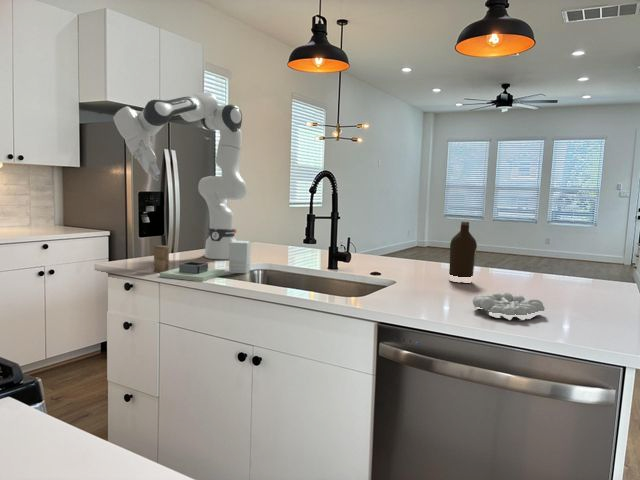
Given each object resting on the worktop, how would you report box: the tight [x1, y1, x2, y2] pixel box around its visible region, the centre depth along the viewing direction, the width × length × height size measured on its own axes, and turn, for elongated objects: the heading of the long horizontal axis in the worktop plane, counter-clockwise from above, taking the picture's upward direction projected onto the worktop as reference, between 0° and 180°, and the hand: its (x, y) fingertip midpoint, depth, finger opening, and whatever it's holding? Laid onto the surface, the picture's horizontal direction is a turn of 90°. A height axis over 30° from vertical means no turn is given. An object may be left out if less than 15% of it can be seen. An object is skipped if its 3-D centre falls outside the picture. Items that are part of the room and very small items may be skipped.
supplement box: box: [228, 240, 252, 274], centre depth 203 cm, size 7×7×13 cm
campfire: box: [472, 292, 546, 315], centre depth 155 cm, size 22×21×6 cm
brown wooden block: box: [153, 245, 170, 273], centre depth 196 cm, size 4×4×10 cm
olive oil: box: [448, 221, 478, 277], centre depth 205 cm, size 11×11×25 cm
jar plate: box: [159, 267, 226, 282], centre depth 192 cm, size 18×18×2 cm
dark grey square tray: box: [178, 261, 209, 274], centre depth 192 cm, size 8×8×3 cm
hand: (157, 177), depth 198 cm, fingers open, 8 cm apart
